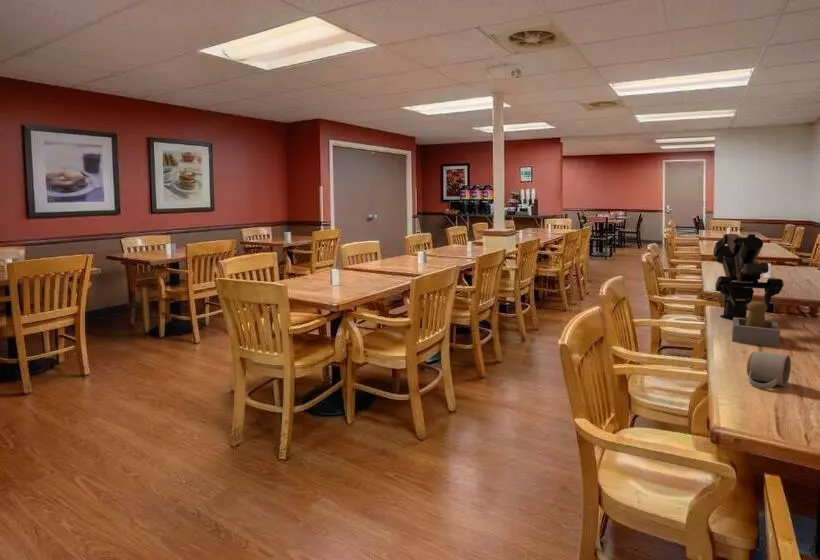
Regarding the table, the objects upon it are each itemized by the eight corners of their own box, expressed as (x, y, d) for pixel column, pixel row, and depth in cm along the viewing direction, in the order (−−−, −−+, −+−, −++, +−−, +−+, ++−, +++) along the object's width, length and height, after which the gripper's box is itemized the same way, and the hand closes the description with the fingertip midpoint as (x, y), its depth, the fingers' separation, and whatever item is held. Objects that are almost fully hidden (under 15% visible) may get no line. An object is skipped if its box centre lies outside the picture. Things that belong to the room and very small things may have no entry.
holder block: (731, 331, 179) (733, 317, 178) (775, 336, 173) (776, 321, 172) (732, 341, 169) (733, 325, 168) (778, 346, 163) (779, 330, 162)
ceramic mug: (752, 373, 141) (755, 345, 139) (789, 381, 135) (793, 352, 133) (740, 385, 134) (742, 355, 132) (778, 394, 128) (782, 363, 126)
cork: (765, 334, 172) (769, 301, 170) (765, 339, 167) (769, 304, 165) (743, 331, 175) (747, 298, 173) (742, 336, 170) (746, 302, 168)
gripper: (720, 252, 180) (724, 291, 172) (785, 254, 174) (792, 294, 166) (713, 271, 189) (716, 309, 181) (775, 274, 183) (781, 313, 175)
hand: (751, 306), depth 176 cm, fingers open, 9 cm apart
